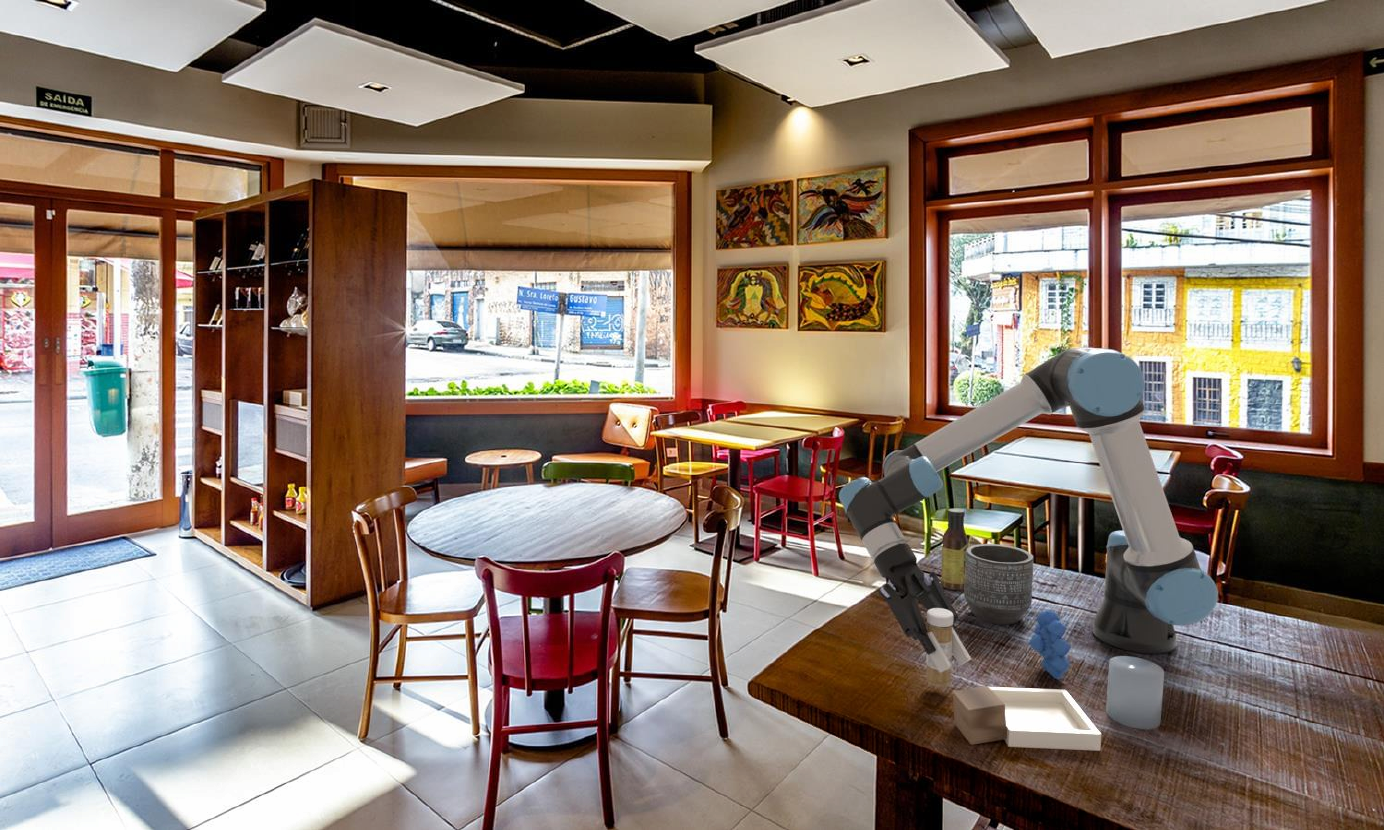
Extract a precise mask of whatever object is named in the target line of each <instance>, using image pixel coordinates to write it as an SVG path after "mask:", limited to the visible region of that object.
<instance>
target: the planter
mask: <svg viewBox="0 0 1384 830" xmlns="http://www.w3.org/2000/svg"><path fill="white" fill-rule="evenodd" d="M1033 577H1034V555H1033V554H1032V553H1030V552H1029V551H1027V550H1025V549H1022V548H1019V547H1017V546H1016V547H1015V546H1011V545H1006V544H996V543H981V544H973V545H969V547H968V548H967V549H966V562H965V583H964V589H963V597H964V599H965V601H966V603H967V606H968V607H969V609H970V610H971V612H972V614H973V615H974V617H976V619H979V620H980V621H983V622H985V623H989V624H994V625H1004V626H1006V625H1013V624H1017V623H1018V622H1019V621H1020V620H1021V619H1022V618H1023V617H1024V616H1025V614H1026V613H1027V612H1028V610H1029V609H1030V607H1031V606H1032V599H1033V598H1032V597H1033V581H1034V579H1033Z"/></svg>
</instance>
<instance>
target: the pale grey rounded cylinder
mask: <svg viewBox="0 0 1384 830" xmlns="http://www.w3.org/2000/svg"><path fill="white" fill-rule="evenodd" d="M1108 663H1109V664H1108V677H1107V678H1108V679H1107V680H1108V681H1107V690H1106V691H1107V692H1106V706H1105V712H1106V714H1107V716H1108V717H1109V718H1110V719H1111V720H1113V721H1115V722H1116V723H1119V724H1120V725H1123V726H1126V727H1129V728H1133V729H1137V730H1154V729H1157V728H1158V727H1160V726H1161V717H1162V705H1163V694H1164V692H1163V691H1164V681H1165V680H1164V679H1165V671H1164V669H1163V668H1162V667H1161V666H1160V665H1158V664H1157V663H1155V662H1152V661H1150V660H1148V659H1144V658H1141V657H1136V656H1128V655H1117V656H1114V657H1112V658H1110V659H1109V662H1108Z"/></svg>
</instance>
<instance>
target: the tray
mask: <svg viewBox="0 0 1384 830" xmlns="http://www.w3.org/2000/svg"><path fill="white" fill-rule="evenodd" d="M988 687H989V688H990V689H991V690H992V691H993V692H994V694H995V695H996V696H997V697H998V698H999V699H1000V700H1001V701H1002V702H1003V703H1004V704H1005V715H1006V730H1007V739H1003V740H1004V741H1005V743H1006V744H1007V747H1009V748H1028V749H1029V748H1031V749H1052V750H1053V749H1055V750H1072V751H1073V750H1075V751H1097V752H1100V751H1101V745H1102V744H1101V743H1102V733H1101V732H1100V731H1099V729H1098V728H1097V726H1096V725H1094V723H1093V722H1092V721H1091V719H1090V718H1089V717H1088V716H1087V715H1086V713H1085V712H1084V710H1082V708H1081V707H1080V705H1078V703H1077V702H1076V701H1075V699H1074V698H1073V697H1072V695H1070V693H1069V692H1068V691H1067V689H1056V688H1055V689H1054V688H1029V687H1027V688H1025V687H1006V686H1005V687H1003V686H1002V687H1001V686H988Z"/></svg>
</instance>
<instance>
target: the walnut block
mask: <svg viewBox="0 0 1384 830" xmlns="http://www.w3.org/2000/svg"><path fill="white" fill-rule="evenodd" d="M989 687H990V686H988V685H984V686H976V687H970V688H963V689H956V690H953V691H951V692H952V703H953V705H952V706H953V716H954V718H953V719H954V725H955V726H956V728H957V729H958V730H959V731H960V733H961V734H962V736H964V738H965V739H966V740H967V741H968V743H969V744H970V745H971V746H973V745H978V744H983V743H989V742H990V743H991V742H996V741H1002V740H1004V739H1007V730H1006V715H1005V704H1004V703H1003V702H1002V701H1001V700H1000V699H999V698H998V697H997V696H996V695H995V694H994V692H993V691H992V690H991V689H990V688H989Z"/></svg>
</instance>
